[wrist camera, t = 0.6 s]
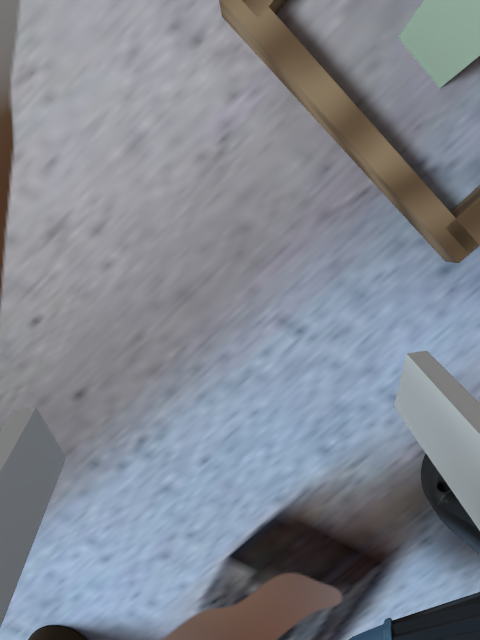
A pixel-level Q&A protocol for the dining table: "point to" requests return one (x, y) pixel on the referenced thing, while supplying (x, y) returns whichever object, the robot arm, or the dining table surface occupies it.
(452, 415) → the robot arm
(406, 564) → the dining table surface
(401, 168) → the frame
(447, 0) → the tall green square pillar
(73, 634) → the olive oil
